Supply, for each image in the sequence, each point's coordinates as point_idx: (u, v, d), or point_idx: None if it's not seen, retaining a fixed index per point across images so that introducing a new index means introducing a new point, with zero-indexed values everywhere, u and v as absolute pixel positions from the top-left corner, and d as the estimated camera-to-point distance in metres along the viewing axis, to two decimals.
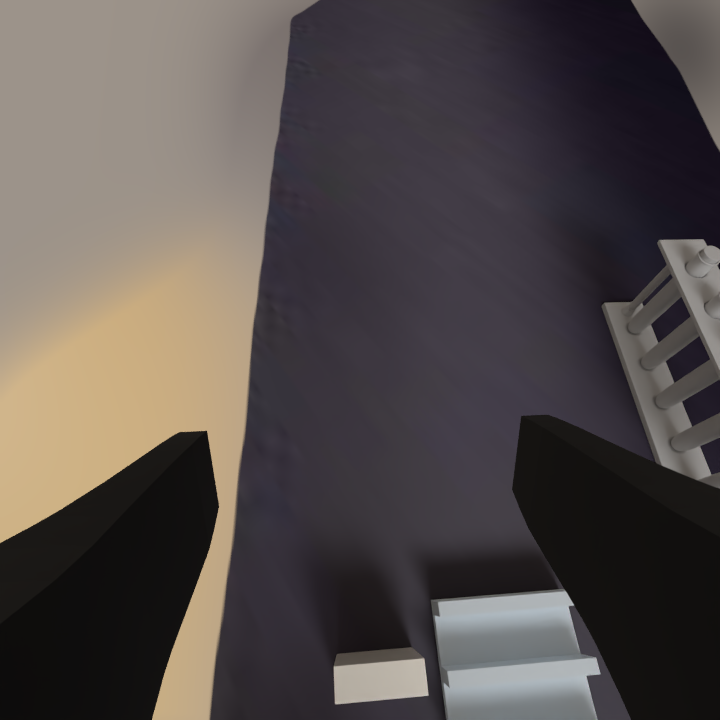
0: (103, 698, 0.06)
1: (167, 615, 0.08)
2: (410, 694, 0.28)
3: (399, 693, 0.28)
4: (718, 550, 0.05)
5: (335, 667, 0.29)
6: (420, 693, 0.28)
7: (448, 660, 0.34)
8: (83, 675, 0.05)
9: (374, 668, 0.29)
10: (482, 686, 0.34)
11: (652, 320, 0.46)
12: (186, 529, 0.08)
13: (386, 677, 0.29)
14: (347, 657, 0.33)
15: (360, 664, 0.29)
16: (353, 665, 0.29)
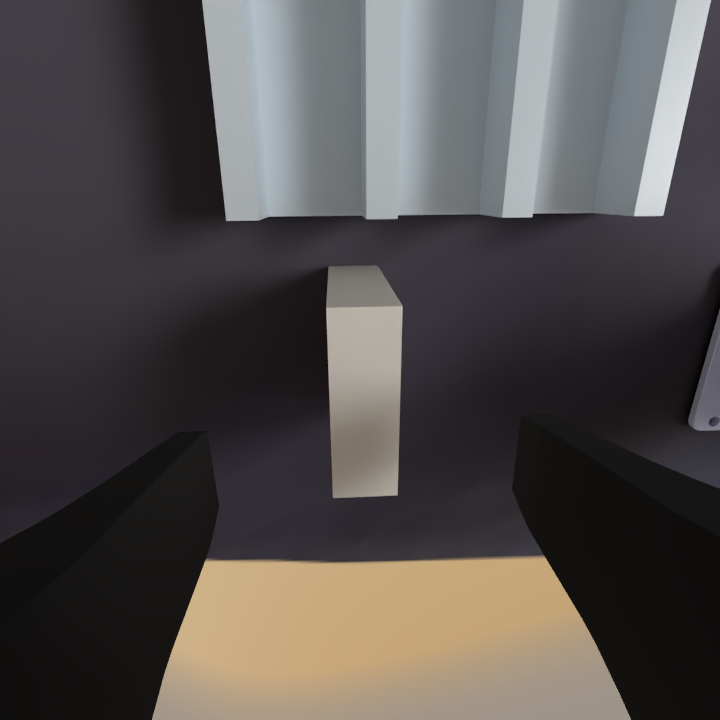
0: (103, 698, 0.06)
1: (167, 615, 0.08)
2: (396, 347, 0.12)
3: (391, 371, 0.12)
4: (718, 550, 0.05)
5: (335, 494, 0.14)
6: (396, 324, 0.12)
7: (352, 197, 0.16)
8: (83, 675, 0.05)
9: (340, 421, 0.13)
10: (403, 127, 0.15)
11: None
12: (186, 529, 0.08)
13: (358, 396, 0.12)
14: None
15: (332, 446, 0.13)
16: (333, 461, 0.13)
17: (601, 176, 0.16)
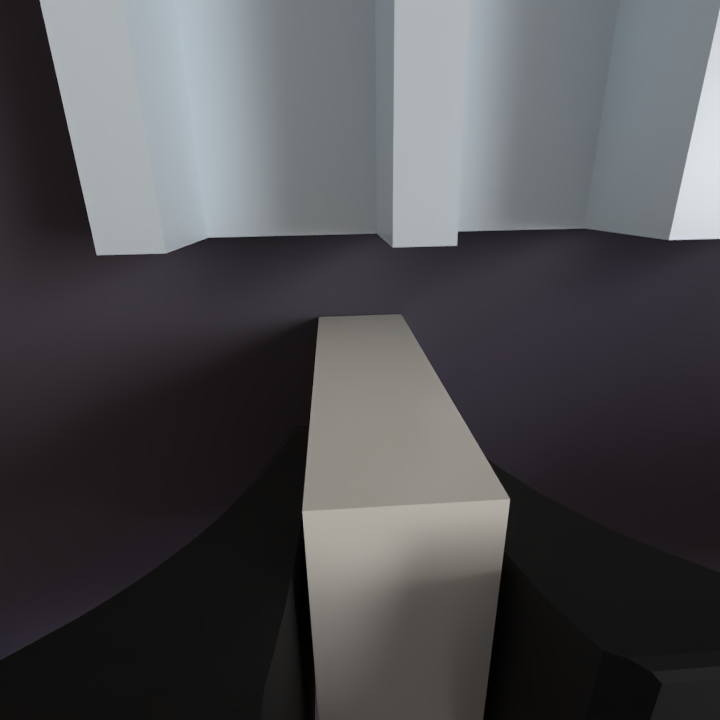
0: (306, 682, 0.06)
1: None
2: (485, 590, 0.05)
3: (471, 636, 0.05)
4: (502, 564, 0.05)
5: None
6: (490, 542, 0.04)
7: (359, 201, 0.09)
8: (301, 658, 0.05)
9: None
10: None
11: None
12: None
13: (388, 690, 0.05)
14: None
15: None
16: None
17: None
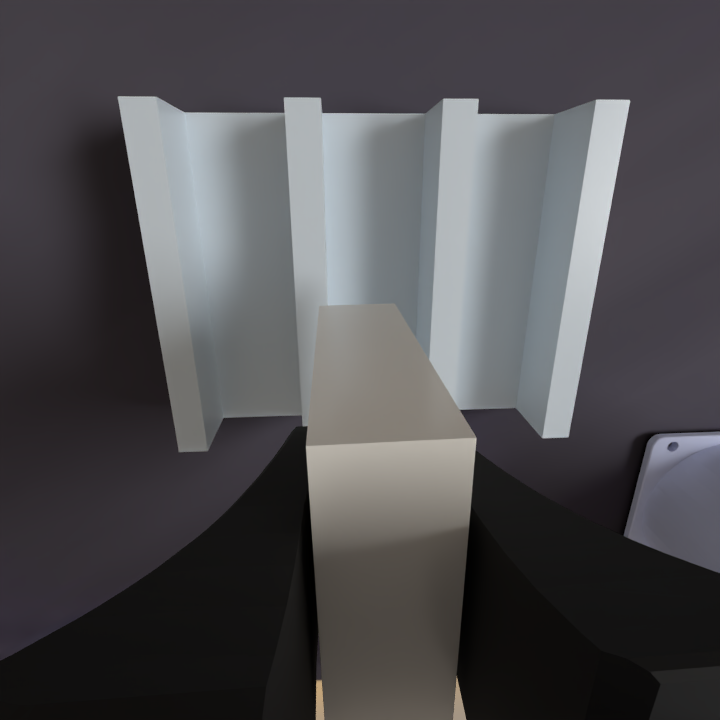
0: (307, 682, 0.06)
1: (315, 605, 0.08)
2: (458, 518, 0.06)
3: (447, 560, 0.06)
4: (502, 564, 0.05)
5: None
6: (461, 475, 0.05)
7: (298, 401, 0.18)
8: (302, 658, 0.05)
9: (341, 649, 0.06)
10: None
11: None
12: None
13: (378, 608, 0.06)
14: None
15: None
16: (327, 714, 0.07)
17: (521, 382, 0.18)
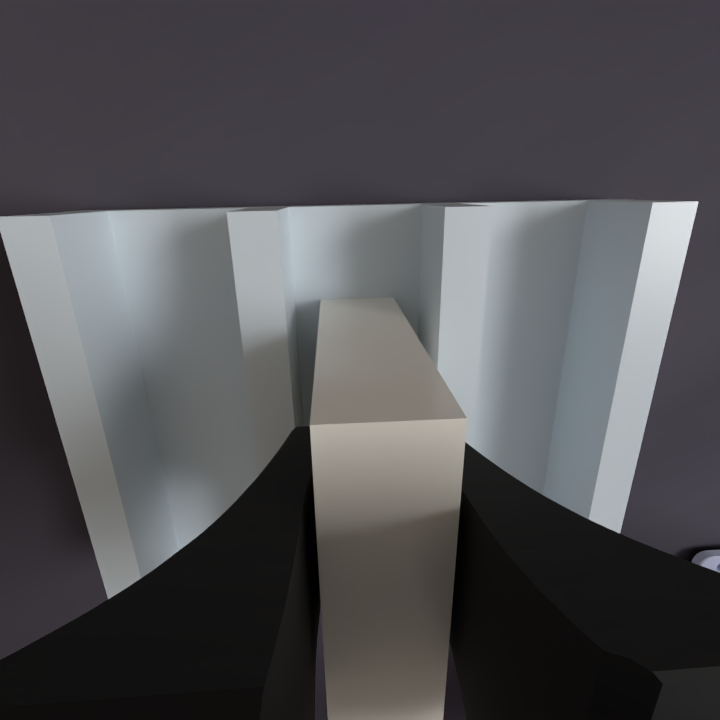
0: (306, 682, 0.06)
1: (314, 605, 0.08)
2: (450, 494, 0.06)
3: (440, 534, 0.06)
4: (503, 564, 0.05)
5: None
6: (453, 453, 0.06)
7: None
8: (301, 658, 0.05)
9: (341, 618, 0.07)
10: None
11: None
12: None
13: (375, 578, 0.07)
14: None
15: (326, 653, 0.07)
16: (328, 680, 0.07)
17: None
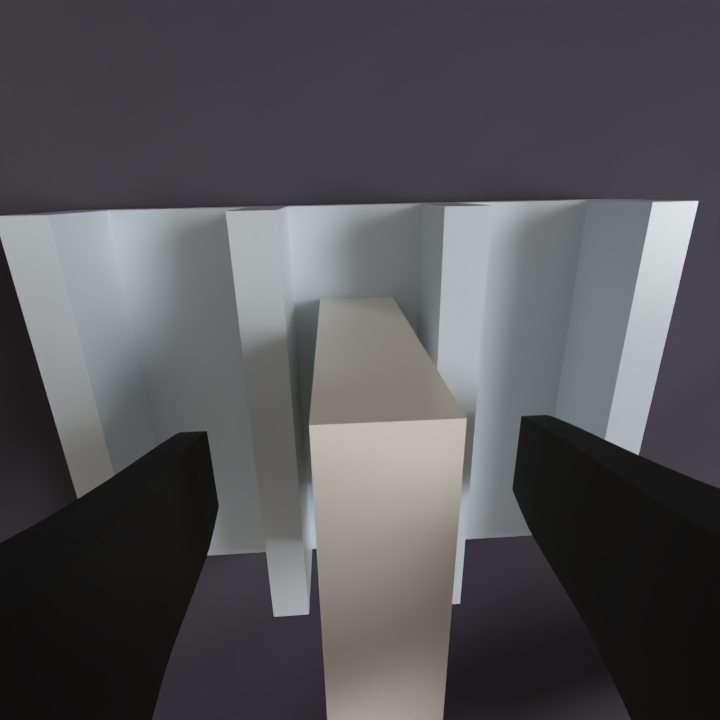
0: (103, 698, 0.06)
1: (167, 615, 0.08)
2: (450, 494, 0.06)
3: (440, 534, 0.06)
4: (718, 550, 0.05)
5: None
6: (453, 453, 0.06)
7: None
8: (83, 675, 0.05)
9: (340, 618, 0.07)
10: None
11: None
12: (186, 529, 0.08)
13: (375, 578, 0.06)
14: None
15: (326, 654, 0.07)
16: (327, 680, 0.07)
17: None
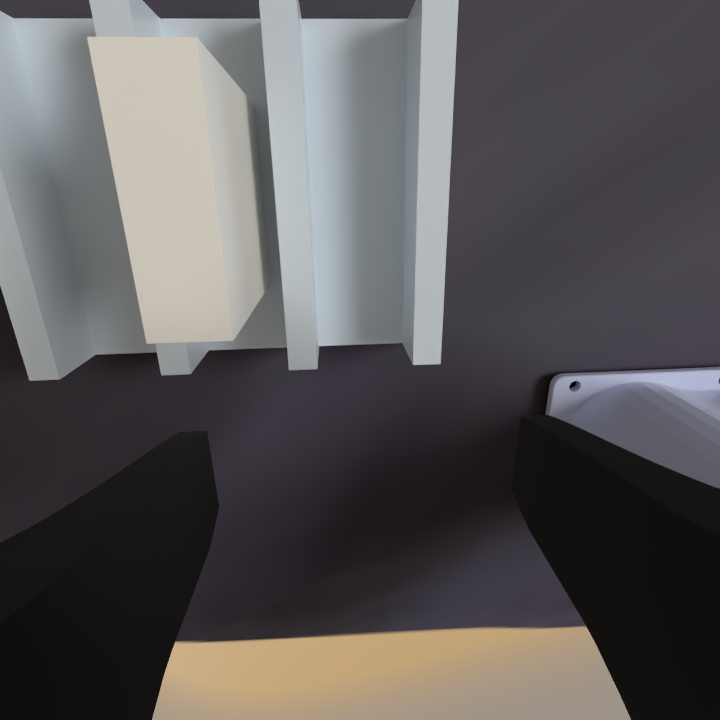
0: (103, 698, 0.06)
1: (167, 615, 0.08)
2: (197, 106, 0.09)
3: (197, 146, 0.09)
4: (718, 550, 0.05)
5: (148, 338, 0.10)
6: (192, 68, 0.08)
7: None
8: (83, 675, 0.05)
9: (137, 224, 0.09)
10: None
11: None
12: (186, 529, 0.08)
13: (157, 186, 0.09)
14: None
15: (135, 266, 0.10)
16: (137, 288, 0.10)
17: (403, 314, 0.17)
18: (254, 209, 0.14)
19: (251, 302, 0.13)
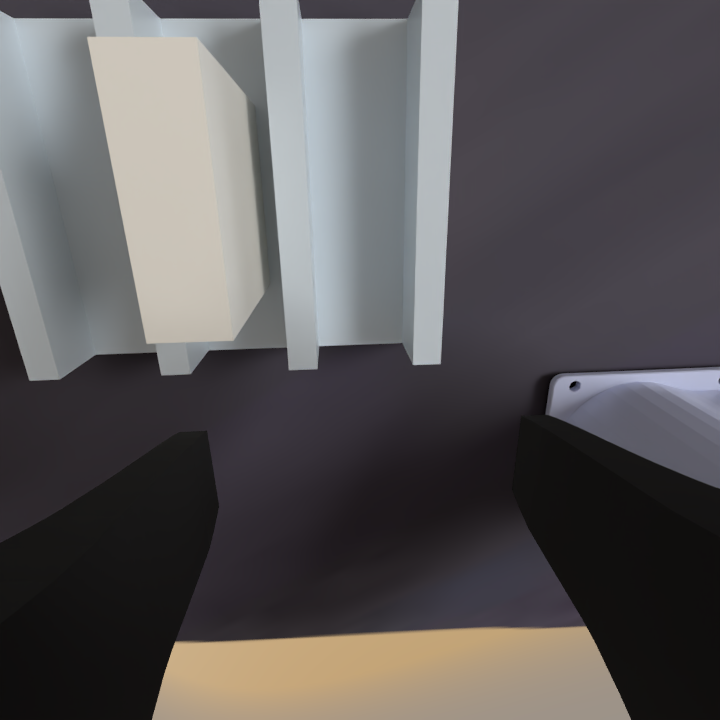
0: (103, 698, 0.06)
1: (167, 615, 0.08)
2: (197, 106, 0.09)
3: (197, 146, 0.09)
4: (718, 550, 0.05)
5: (148, 338, 0.10)
6: (192, 68, 0.08)
7: None
8: (83, 675, 0.05)
9: (137, 224, 0.09)
10: None
11: None
12: (186, 529, 0.08)
13: (157, 186, 0.09)
14: None
15: (135, 266, 0.10)
16: (137, 288, 0.10)
17: (403, 314, 0.17)
18: (254, 209, 0.14)
19: (251, 302, 0.13)
